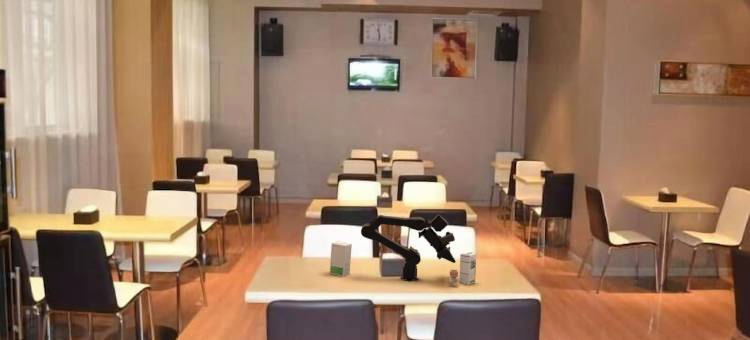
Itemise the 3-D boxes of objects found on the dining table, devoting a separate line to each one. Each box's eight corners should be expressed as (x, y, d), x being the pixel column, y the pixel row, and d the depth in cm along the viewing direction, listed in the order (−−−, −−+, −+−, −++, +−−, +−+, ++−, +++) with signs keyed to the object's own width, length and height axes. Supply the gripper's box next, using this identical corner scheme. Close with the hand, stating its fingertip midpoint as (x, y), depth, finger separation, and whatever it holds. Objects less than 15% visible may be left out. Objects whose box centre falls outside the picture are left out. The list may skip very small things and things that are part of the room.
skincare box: (329, 274, 339) (330, 243, 337) (336, 271, 345) (337, 240, 343) (344, 277, 335) (345, 245, 333) (351, 274, 341) (352, 242, 339)
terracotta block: (449, 279, 338) (450, 271, 338) (449, 277, 342) (450, 269, 341) (457, 280, 338) (458, 271, 337) (457, 278, 341) (458, 269, 341)
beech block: (449, 286, 325) (449, 278, 325) (449, 284, 329) (449, 275, 329) (457, 287, 325) (458, 278, 324) (457, 285, 329) (458, 276, 328)
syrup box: (469, 285, 329) (471, 255, 328) (458, 282, 333) (460, 253, 331) (475, 282, 334) (476, 253, 332) (464, 280, 337) (466, 251, 336)
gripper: (445, 231, 322) (467, 256, 322) (445, 223, 341) (467, 247, 341) (427, 247, 324) (450, 271, 324) (429, 238, 343) (450, 261, 343)
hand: (455, 262), depth 333 cm, fingers closed
